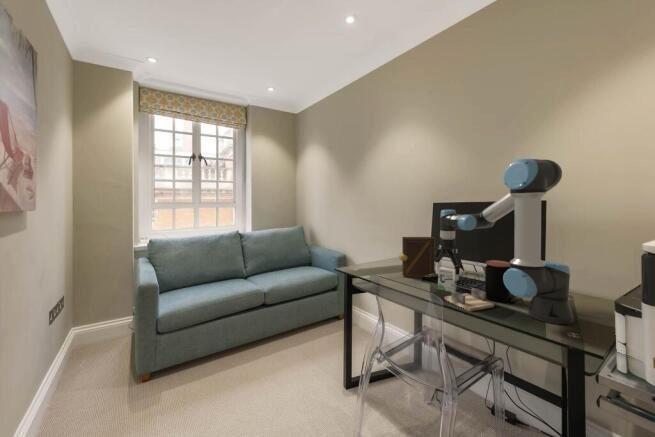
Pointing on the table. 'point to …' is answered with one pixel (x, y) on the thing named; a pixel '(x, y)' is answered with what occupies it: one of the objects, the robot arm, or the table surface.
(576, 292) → the table surface
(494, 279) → the coffee jar
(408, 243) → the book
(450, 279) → the ink box
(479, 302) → the clip stand
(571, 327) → the table surface
